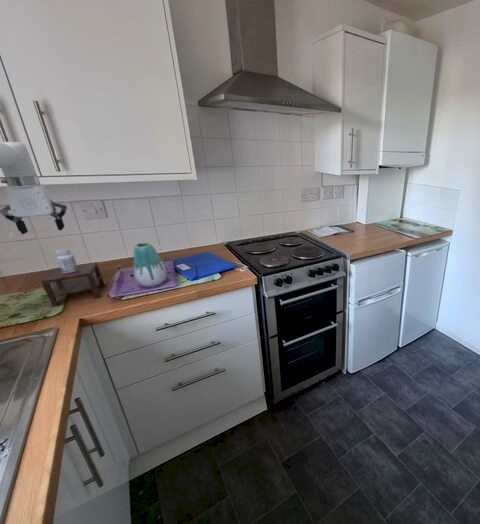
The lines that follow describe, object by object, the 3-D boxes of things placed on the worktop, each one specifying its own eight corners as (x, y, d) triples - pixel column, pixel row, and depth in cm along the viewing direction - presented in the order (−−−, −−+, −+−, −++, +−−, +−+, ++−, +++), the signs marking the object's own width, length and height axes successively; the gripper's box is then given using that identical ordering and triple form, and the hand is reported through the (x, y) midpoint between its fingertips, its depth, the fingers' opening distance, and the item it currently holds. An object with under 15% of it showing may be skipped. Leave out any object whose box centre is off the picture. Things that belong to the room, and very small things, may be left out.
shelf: (52, 306, 110) (40, 280, 106) (62, 292, 120) (51, 268, 116) (99, 297, 117) (90, 272, 112) (105, 284, 126) (96, 261, 122)
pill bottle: (61, 271, 114) (52, 250, 110) (77, 267, 117) (69, 247, 114) (63, 274, 111) (54, 253, 108) (79, 270, 114) (71, 250, 111)
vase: (173, 283, 128) (162, 243, 121) (141, 292, 120) (128, 251, 113) (164, 274, 135) (154, 237, 128) (134, 283, 128) (122, 243, 121)
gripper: (-20, 184, 93) (4, 237, 99) (54, 181, 100) (71, 230, 107) (-8, 181, 99) (14, 231, 105) (61, 179, 106) (77, 225, 113)
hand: (43, 231), depth 106 cm, fingers open, 9 cm apart
